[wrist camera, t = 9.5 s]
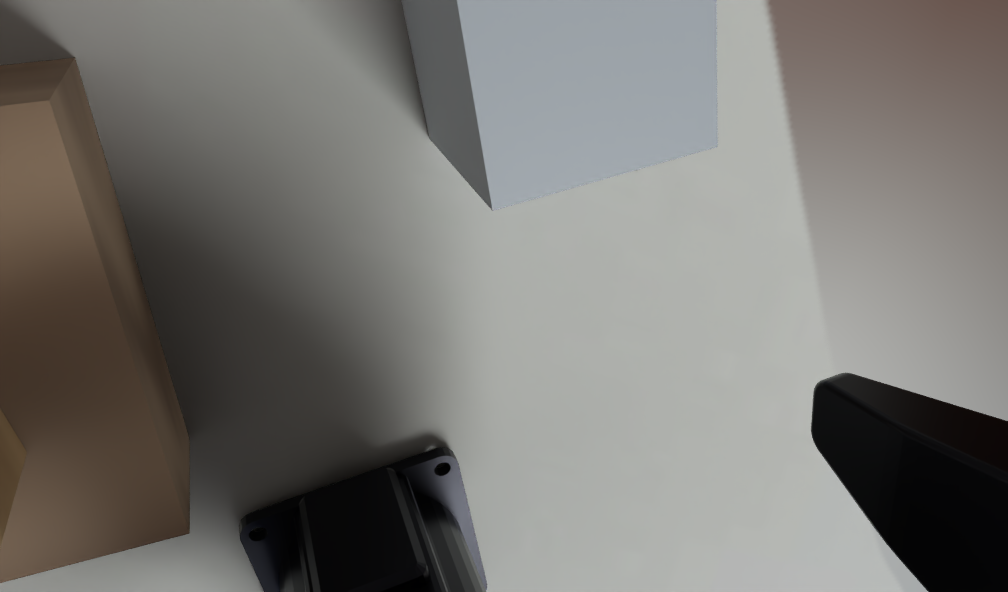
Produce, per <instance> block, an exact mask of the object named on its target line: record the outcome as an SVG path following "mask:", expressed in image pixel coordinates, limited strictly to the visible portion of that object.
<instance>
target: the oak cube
mask: <svg viewBox="0 0 1008 592" xmlns="http://www.w3.org/2000/svg"><path fill="white" fill-rule="evenodd" d="M26 455H27V451H26V450H25V448H24V446H23V445H22V443H21V441H20V440H19V438H18V437H17V435H16V433H15V432H14V430H13V428H12V427H11V425H10V423H9V422H8V420H7V419H6V417H5V415H4V414H3V412H2V410H1V409H0V547H1V543H2V540H3V536H4V532H5V529H6V525H7V522H8V518H9V515H10V511H11V508H12V504H13V501H14V497H15V494H16V490H17V487H18V483H19V479H20V476H21V472H22V469H23V465H24V462H25V458H26Z"/></svg>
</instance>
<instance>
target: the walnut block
mask: <svg viewBox="0 0 1008 592" xmlns="http://www.w3.org/2000/svg"><path fill="white" fill-rule="evenodd" d="M0 409H1V410H2V412H3V414H4V415H5V417H6V419H7V420H8V422H9V423H10V425H11V427H12V428H13V430H14V432H15V433H16V435H17V437H18V438H19V440H20V441H21V443H22V445H23V446H24V448H25V450H26V451H27V455H26V458H25V462H24V465H23V469H22V472H21V476H20V479H19V483H18V487H17V490H16V494H15V497H14V501H13V504H12V508H11V511H10V515H9V518H8V522H7V525H6V529H5V532H4V536H3V540H2V543H1V547H0V583H2V582H6V581H10V580H13V579H17V578H21V577H25V576H29V575H33V574H36V573H40V572H44V571H48V570H52V569H55V568H59V567H63V566H67V565H71V564H75V563H78V562H82V561H86V560H90V559H94V558H97V557H101V556H105V555H109V554H113V553H117V552H120V551H124V550H128V549H132V548H136V547H139V546H143V545H147V544H151V543H155V542H159V541H162V540H166V539H170V538H174V537H178V536H181V535H185V534H189V533H190V439H189V436H188V433H187V429H186V426H185V423H184V419H183V416H182V413H181V409H180V406H179V403H178V399H177V396H176V393H175V389H174V386H173V383H172V379H171V376H170V373H169V369H168V366H167V363H166V359H165V356H164V353H163V349H162V346H161V343H160V339H159V336H158V333H157V329H156V326H155V323H154V319H153V316H152V313H151V309H150V306H149V303H148V299H147V296H146V293H145V289H144V286H143V283H142V279H141V276H140V273H139V269H138V266H137V263H136V259H135V256H134V253H133V249H132V246H131V243H130V239H129V236H128V233H127V229H126V226H125V223H124V219H123V216H122V213H121V209H120V206H119V203H118V199H117V196H116V193H115V189H114V186H113V183H112V179H111V176H110V173H109V169H108V166H107V163H106V159H105V156H104V153H103V149H102V146H101V143H100V139H99V136H98V133H97V129H96V126H95V123H94V119H93V116H92V113H91V109H90V106H89V103H88V99H87V96H86V93H85V89H84V86H83V83H82V79H81V76H80V73H79V69H78V66H77V63H76V59H75V58H67V59H57V60H48V61H38V62H29V63H19V64H10V65H0Z"/></svg>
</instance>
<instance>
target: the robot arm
mask: <svg viewBox="0 0 1008 592" xmlns="http://www.w3.org/2000/svg"><path fill="white" fill-rule="evenodd" d="M811 433H812V438H813V441H814V443H815V445H816V447H817V449H818V450H819V452H820V453H821V454H822V456H823V457H824V459H825V460H826V461H827V463H828V464H829V466H830V467H831V468H832V470H833V471H834V472H835V474H836V475H837V477H838V478H839V479H840V481H841V482H842V484H843V485H844V486H845V488H846V489H847V491H848V492H849V493H850V495H851V496H852V497H853V499H854V500H855V502H856V503H857V504H858V506H859V507H860V509H861V510H862V511H863V513H864V514H865V516H866V517H867V518H868V520H869V521H870V522H871V524H872V525H873V527H874V528H875V529H876V531H877V532H878V533H879V535H880V536H881V537H882V538H883V540H884V541H885V542H886V544H887V545H888V546H889V547H890V548H891V550H892V551H893V552H894V553H895V554H896V555H897V557H898V558H899V559H900V560H901V561H902V562H903V564H904V565H905V566H906V567H907V568H908V569H909V570H910V572H911V573H912V574H913V575H914V576H915V577H916V578H917V579H918V581H919V582H920V583H921V584H922V585H923V586H924V587H925V588H926V590H927V591H928V592H1008V421H1005V420H1002V419H999V418H996V417H992V416H989V415H986V414H982V413H979V412H976V411H973V410H969V409H966V408H963V407H959V406H956V405H953V404H950V403H946V402H943V401H939V400H936V399H933V398H930V397H926V396H923V395H920V394H917V393H913V392H910V391H907V390H903V389H900V388H897V387H894V386H891V385H887V384H884V383H881V382H877V381H874V380H871V379H868V378H864V377H861V376H858V375H855V374H851V373H841V374H838V375H835V376H833V377H830V378H827V379H824V380H822V381H820V382H818V383H817V385H816V386H815V388H814V395H813V409H812V423H811ZM443 462H446V464H445V465H444V466H442V467H438V468H436V466H437V465H438V464H440V463H443ZM258 527H262V528H264V529H262V530H261V531H251V530H253V529H254V528H258ZM239 531H240V540H241V542H242V545H243V547H244V549H245V551H246V553H247V555H248V558H249V560H250V562H251V564H252V566H253V568H254V571H255V573H256V575H257V577H258V579H259V581H260V584H261V586H262V588H263V590H264V592H486V590H487V582H486V577H485V573H484V569H483V565H482V561H481V556H480V552H479V548H478V544H477V540H476V535H475V531H474V527H473V523H472V519H471V514H470V510H469V506H468V502H467V498H466V493H465V489H464V485H463V481H462V477H461V472H460V468H459V464H458V462H457V459H456V457H455V455H454V453H453V451H451V450H450V449H448V448H443V447H442V448H436V449H433V450H430V451H427V452H425V453H422V454H419V455H416V456H413V457H410V458H407V459H404V460H401V461H399V462H396V463H393V464H390V465H387V466H384V467H381V468H378V469H375V470H373V471H370V472H367V473H364V474H361V475H358V476H355V477H352V478H349V479H347V480H344V481H341V482H338V483H335V484H332V485H329V486H326V487H324V488H321V489H318V490H315V491H312V492H309V493H306V494H303V495H300V496H298V497H295V498H292V499H289V500H286V501H283V502H280V503H277V504H274V505H272V506H269V507H266V508H263V509H260V510H257V511H254V512H252V513H250V514H248V515H246V516H245V517H244V518H243V519H242V520H241V522H240V525H239Z"/></svg>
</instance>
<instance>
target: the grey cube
mask: <svg viewBox="0 0 1008 592" xmlns="http://www.w3.org/2000/svg"><path fill="white" fill-rule="evenodd" d="M401 1H402V6H403V11H404V16H405V21H406V26H407V30H408V35H409V40H410V45H411V50H412V55H413V60H414V65H415V70H416V75H417V79H418V84H419V89H420V94H421V99H422V104H423V109H424V114H425V119H426V123H427V128H428V133H429V138H430V140H431V141H432V142H433V143H434V144H435V146H436V147H437V148H438V149H439V150H440V151H441V152H442V154H443V155H444V156H445V157H446V158H447V159H448V160H449V162H450V163H451V164H452V165H453V166H454V167H455V168H456V170H457V171H458V172H459V173H460V174H461V175H462V176H463V178H464V179H465V180H466V181H467V182H468V183H469V184H470V186H471V187H472V188H473V189H474V190H475V191H476V192H477V194H478V195H479V196H480V197H481V198H482V199H483V200H484V202H485V203H486V204H487V205H488V206H489V207H490V208H491V210H492V211H494V210H497V209H501V208H504V207H508V206H511V205H515V204H518V203H522V202H526V201H529V200H533V199H536V198H540V197H543V196H547V195H550V194H554V193H557V192H561V191H564V190H568V189H571V188H575V187H578V186H582V185H585V184H589V183H592V182H596V181H599V180H603V179H606V178H610V177H613V176H617V175H620V174H624V173H627V172H631V171H634V170H638V169H641V168H645V167H648V166H652V165H656V164H659V163H663V162H666V161H670V160H673V159H677V158H680V157H684V156H687V155H691V154H694V153H698V152H701V151H705V150H708V149H712V148H715V147H718V135H717V5H716V0H401Z"/></svg>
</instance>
